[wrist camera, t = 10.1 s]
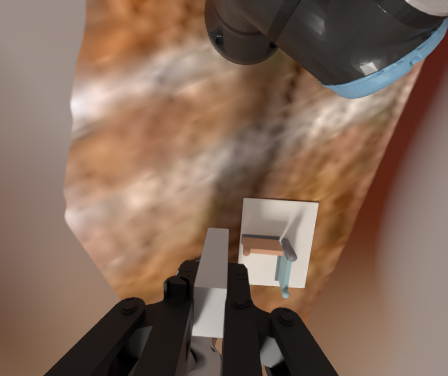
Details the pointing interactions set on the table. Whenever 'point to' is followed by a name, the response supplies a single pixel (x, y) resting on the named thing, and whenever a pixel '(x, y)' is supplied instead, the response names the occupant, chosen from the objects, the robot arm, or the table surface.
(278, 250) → the fence panel
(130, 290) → the table surface
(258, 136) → the table surface
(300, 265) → the card
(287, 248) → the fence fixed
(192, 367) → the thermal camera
